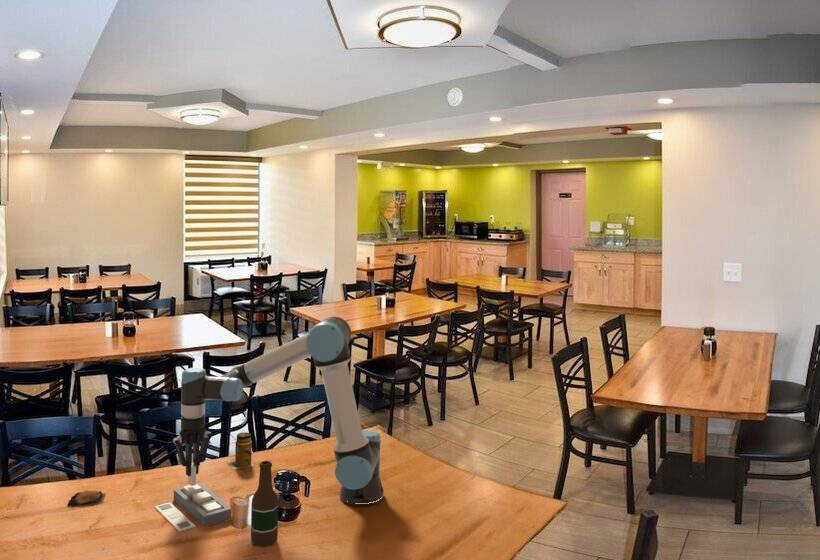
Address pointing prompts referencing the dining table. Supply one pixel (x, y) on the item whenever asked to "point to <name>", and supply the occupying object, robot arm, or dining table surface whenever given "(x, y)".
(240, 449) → the condiment
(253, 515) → the beer bottle
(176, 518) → the pattern card
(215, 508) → the button
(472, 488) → the dining table surface
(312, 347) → the robot arm
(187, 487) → the button
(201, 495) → the middle button
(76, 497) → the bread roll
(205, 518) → the console
